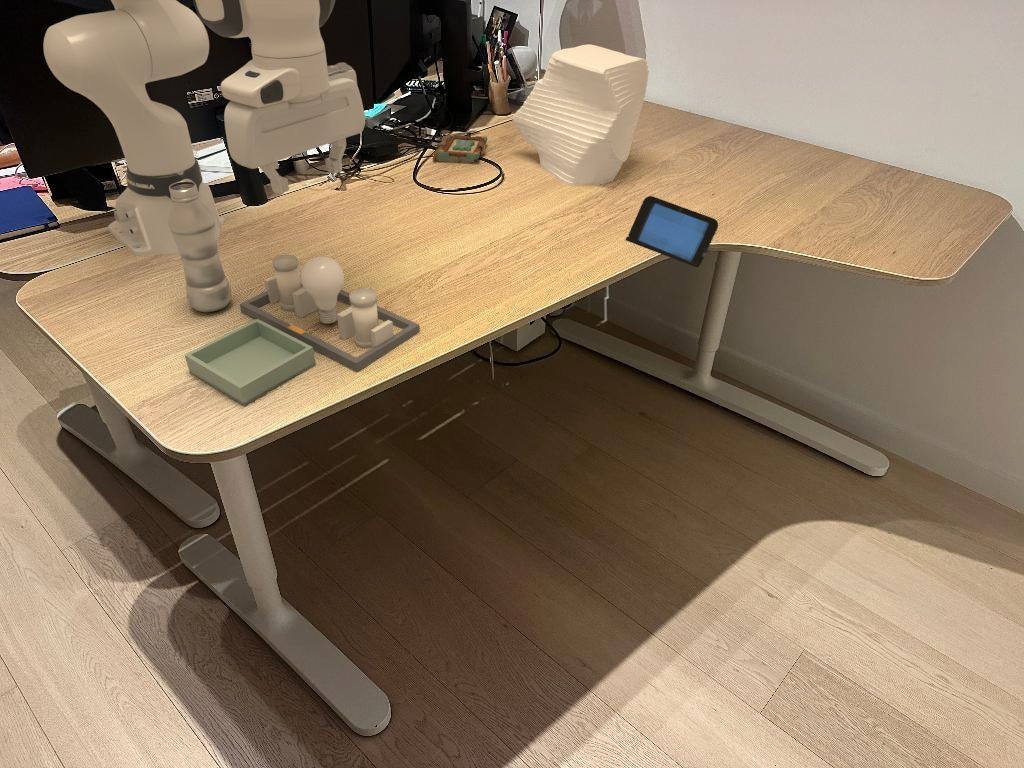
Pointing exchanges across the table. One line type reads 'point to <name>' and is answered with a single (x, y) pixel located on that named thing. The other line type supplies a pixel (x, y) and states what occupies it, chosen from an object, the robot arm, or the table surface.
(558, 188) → the table surface
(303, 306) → the rail
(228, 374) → the tray
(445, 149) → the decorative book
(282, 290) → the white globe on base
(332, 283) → the lightbulb
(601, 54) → the white ridged sculpture
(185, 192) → the plastic bottle
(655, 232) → the small black monitor
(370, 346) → the cylinder
